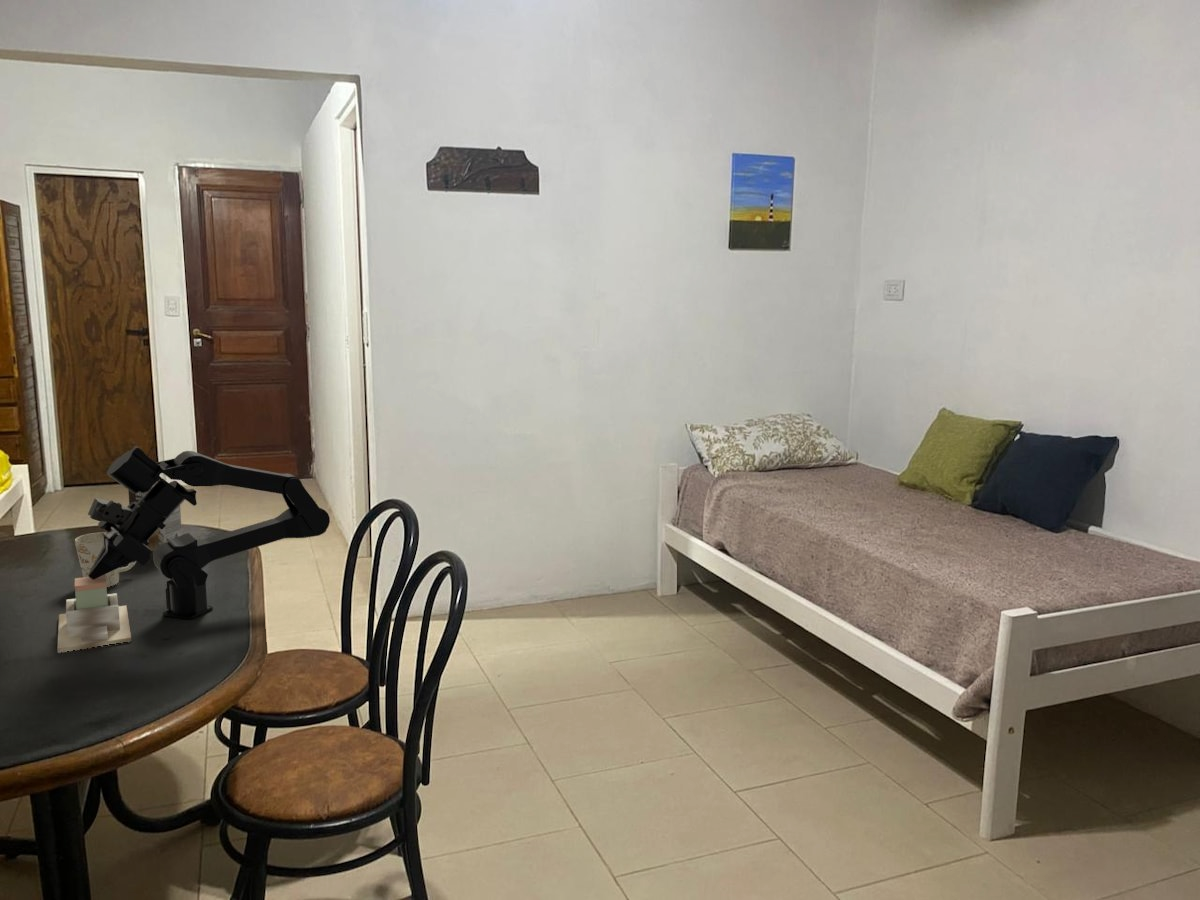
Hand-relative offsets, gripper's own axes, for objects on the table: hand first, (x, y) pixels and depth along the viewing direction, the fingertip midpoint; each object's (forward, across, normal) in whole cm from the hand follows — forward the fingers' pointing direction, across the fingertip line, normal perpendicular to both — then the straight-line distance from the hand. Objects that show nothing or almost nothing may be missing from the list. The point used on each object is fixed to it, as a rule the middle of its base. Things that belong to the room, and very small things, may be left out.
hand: (90, 577), depth 161 cm
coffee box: (-7, -44, +21) cm, 50 cm away
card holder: (+7, 0, +7) cm, 10 cm away
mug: (+2, -28, +12) cm, 30 cm away
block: (+6, 0, +6) cm, 8 cm away
